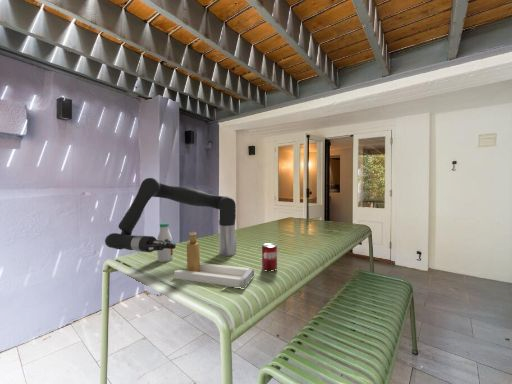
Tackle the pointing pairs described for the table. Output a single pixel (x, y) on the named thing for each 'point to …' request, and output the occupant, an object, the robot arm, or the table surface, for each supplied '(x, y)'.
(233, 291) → the table surface
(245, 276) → the white trough
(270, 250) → the soda can
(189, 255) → the amber bottle
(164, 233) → the milk bottle
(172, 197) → the robot arm
